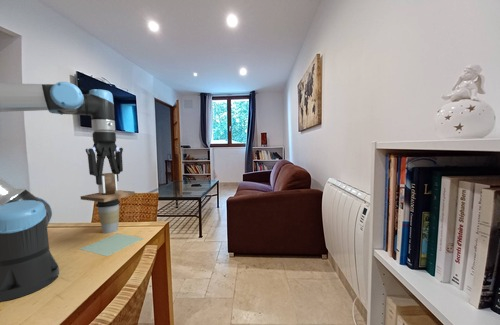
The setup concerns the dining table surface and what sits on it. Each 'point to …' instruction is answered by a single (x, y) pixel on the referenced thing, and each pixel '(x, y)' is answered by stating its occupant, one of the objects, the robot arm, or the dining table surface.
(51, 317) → the dining table surface
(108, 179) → the walnut cover
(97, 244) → the rubber mat
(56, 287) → the dining table surface
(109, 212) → the coffee cup
